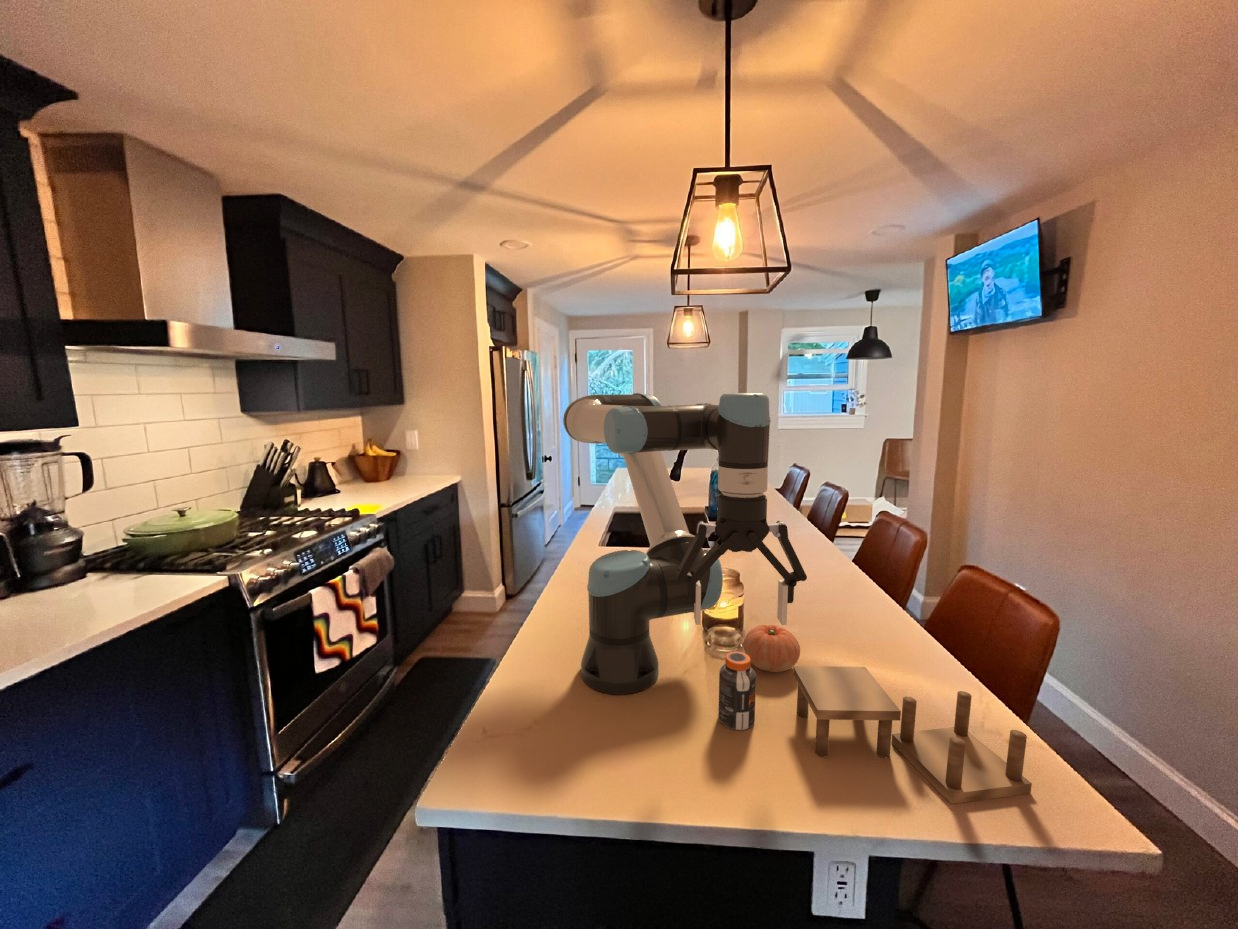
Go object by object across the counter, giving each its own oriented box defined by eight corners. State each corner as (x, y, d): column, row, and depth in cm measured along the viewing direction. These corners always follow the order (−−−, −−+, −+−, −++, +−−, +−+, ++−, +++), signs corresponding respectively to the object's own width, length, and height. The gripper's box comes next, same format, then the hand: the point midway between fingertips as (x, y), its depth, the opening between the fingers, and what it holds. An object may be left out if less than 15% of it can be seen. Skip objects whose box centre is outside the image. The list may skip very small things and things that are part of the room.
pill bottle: (755, 733, 82) (757, 668, 81) (718, 729, 84) (719, 664, 82) (753, 711, 88) (755, 649, 87) (718, 707, 89) (719, 646, 88)
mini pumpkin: (731, 664, 103) (732, 627, 102) (763, 646, 110) (764, 611, 109) (779, 688, 95) (780, 647, 94) (810, 667, 102) (811, 629, 100)
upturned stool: (950, 804, 68) (956, 749, 67) (891, 742, 80) (895, 695, 79) (1030, 793, 70) (1037, 740, 69) (960, 734, 82) (965, 688, 80)
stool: (815, 759, 77) (817, 710, 75) (791, 709, 89) (793, 666, 87) (897, 760, 76) (900, 711, 75) (862, 710, 88) (865, 666, 87)
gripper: (663, 498, 77) (663, 631, 80) (832, 497, 76) (825, 632, 79) (661, 488, 84) (661, 611, 87) (815, 487, 83) (809, 611, 86)
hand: (739, 621), depth 83 cm, fingers open, 13 cm apart
